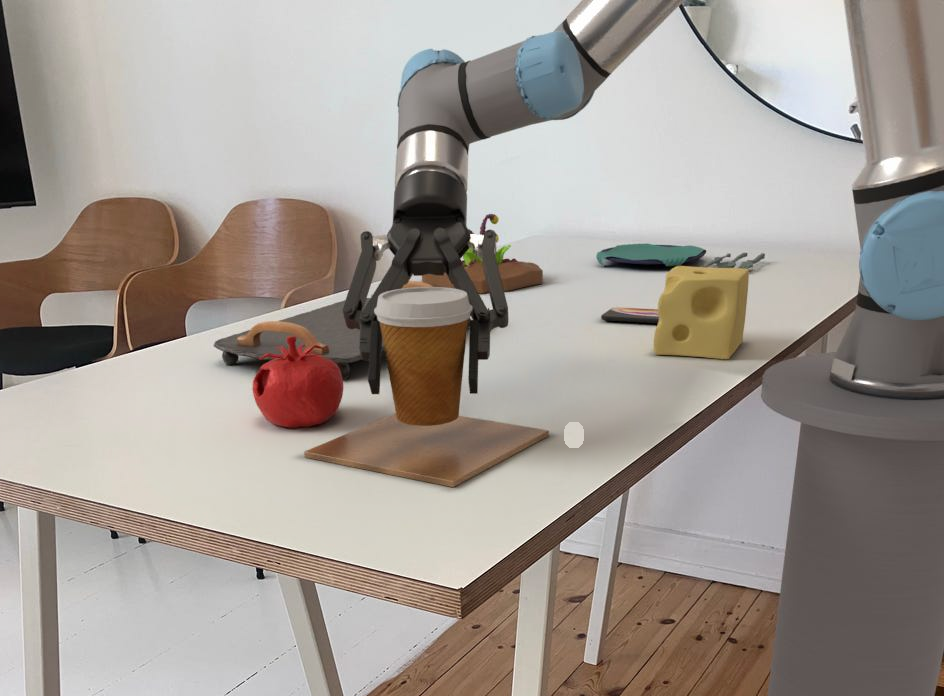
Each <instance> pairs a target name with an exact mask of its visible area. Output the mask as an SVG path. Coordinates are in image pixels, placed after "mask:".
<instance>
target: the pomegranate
mask: <svg viewBox="0 0 944 696" xmlns="http://www.w3.org/2000/svg"><path fill="white" fill-rule="evenodd" d="M296 340H297V338H296V336H289V337H287V338H286V341H287V343H288V345H289V352H288V351H287V350H286V349H285V348H284V347H281V346H280V347H275V348H280V350H281V352H282V353H283V355H275V354H271V353H267V354H265V355H264V356H263V357H261V358H258V360H260V361H262V360H265V359H264V358H265V357H274V358H275V359H273V360H268V361H267V362H265V363H263V364H262V365H261V366H260V367H259V370H258V371H257V373H256V374H255V375H254V378H253V380H252V396H253V398H254V402H255V404H256V406H257V408H258V409H259V411H260V412H261V414H262V416H263V417H264V419H265V420H266V421H267V422H269V423H271V424H273V425H276V426H279V427H284V428H292V429H293V428H294V429H296V428H301V427H304V428H309V427H313V426H316V425H320V424H323V423H324V422H326V421H327V420H329V419H330V418H332V417H333V416H334V415H335V414H336V413H337V411H338V410H339V408H340V405H341V402H342V399H343V395H344V380H343V379H342V375H341V371H340V369H339V367H338V365H337V364H336V363H335V362H333V361H332V360H329V359H326V358H323V357H321V356H319V355H316V354H311V353H309V352H310V351H311V350H312V349H313V348H320V349H325V348H322V347H321V346H318V345H313V346H311V347H309V348H307V349H306V350H304V351H303V352H302V348H303V346H304V345H300V346H299V347H298V349H296V343H295V342H296ZM304 347H306V346H304ZM325 350H329V349H325Z"/></svg>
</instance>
